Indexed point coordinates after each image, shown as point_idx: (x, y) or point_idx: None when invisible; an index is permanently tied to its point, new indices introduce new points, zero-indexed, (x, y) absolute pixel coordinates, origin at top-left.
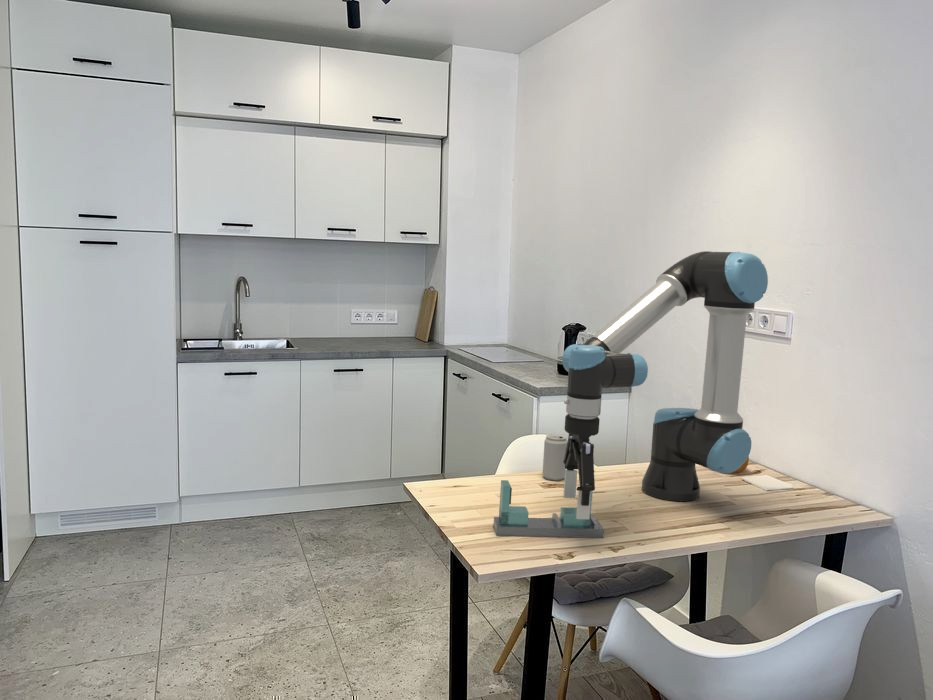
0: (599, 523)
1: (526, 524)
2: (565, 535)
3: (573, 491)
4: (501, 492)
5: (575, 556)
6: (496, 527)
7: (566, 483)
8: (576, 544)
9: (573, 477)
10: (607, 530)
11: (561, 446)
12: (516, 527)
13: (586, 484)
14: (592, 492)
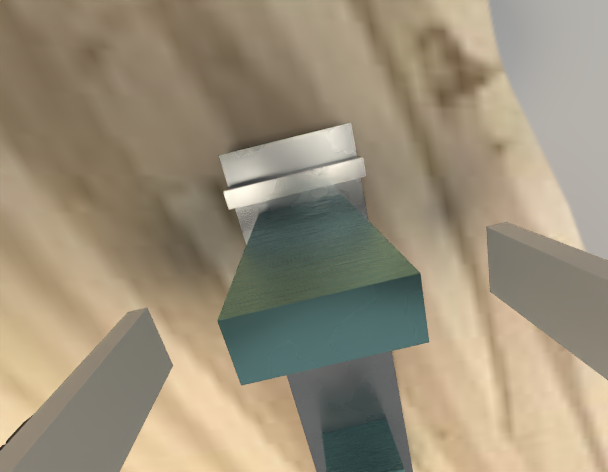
0: (274, 145)
1: (388, 426)
2: None
3: (132, 347)
4: None
5: (544, 235)
6: None
7: (126, 439)
8: (434, 235)
9: (67, 450)
10: (241, 101)
11: None
12: (407, 445)
13: (295, 339)
14: (401, 255)
